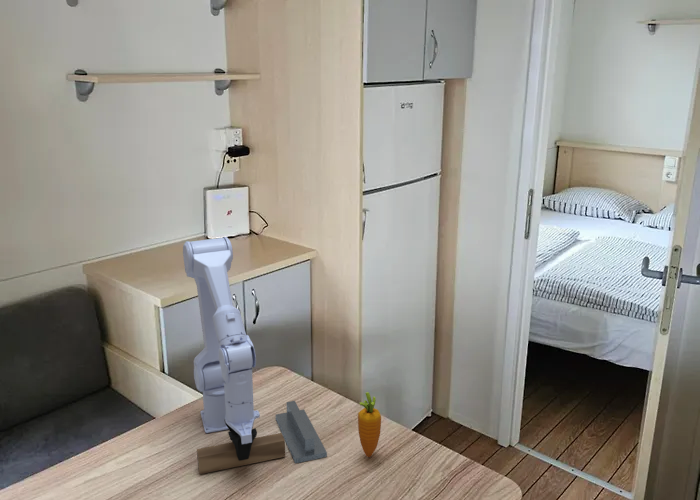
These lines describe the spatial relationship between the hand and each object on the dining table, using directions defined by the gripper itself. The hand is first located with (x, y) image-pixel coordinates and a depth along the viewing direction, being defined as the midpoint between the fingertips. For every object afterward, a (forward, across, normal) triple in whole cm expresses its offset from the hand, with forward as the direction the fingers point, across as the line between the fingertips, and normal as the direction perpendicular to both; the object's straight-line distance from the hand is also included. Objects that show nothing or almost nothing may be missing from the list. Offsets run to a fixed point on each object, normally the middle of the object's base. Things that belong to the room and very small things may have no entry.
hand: (241, 454), depth 134 cm
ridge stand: (+2, +5, -14) cm, 15 cm away
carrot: (+2, -7, -26) cm, 27 cm away
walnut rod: (+2, 0, 0) cm, 2 cm away
